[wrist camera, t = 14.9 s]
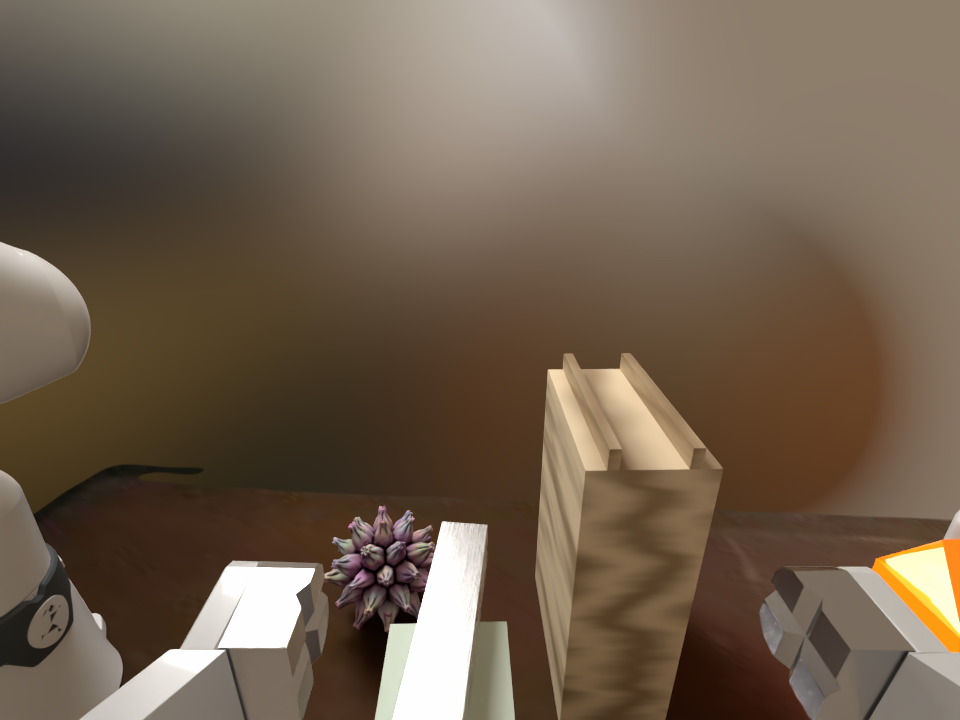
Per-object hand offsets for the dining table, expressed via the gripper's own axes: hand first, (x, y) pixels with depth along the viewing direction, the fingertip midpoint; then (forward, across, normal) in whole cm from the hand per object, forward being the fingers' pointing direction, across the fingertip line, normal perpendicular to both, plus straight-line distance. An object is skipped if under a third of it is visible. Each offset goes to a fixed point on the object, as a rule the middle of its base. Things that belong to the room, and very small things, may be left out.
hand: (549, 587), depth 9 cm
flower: (+30, +9, +39) cm, 51 cm away
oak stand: (+27, -12, +38) cm, 48 cm away
